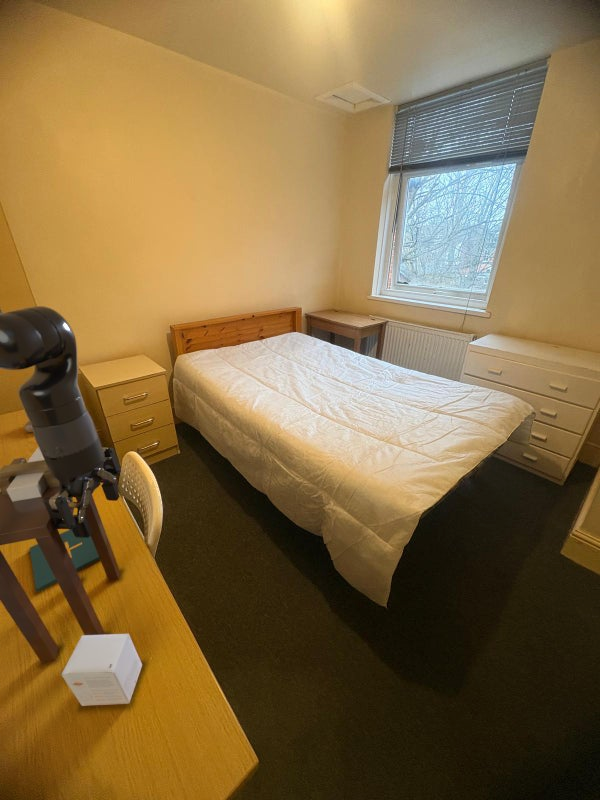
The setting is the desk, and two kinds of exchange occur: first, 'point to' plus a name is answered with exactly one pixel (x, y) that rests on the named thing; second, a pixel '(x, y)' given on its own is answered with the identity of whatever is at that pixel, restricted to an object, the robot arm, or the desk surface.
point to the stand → (32, 521)
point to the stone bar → (28, 482)
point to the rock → (28, 427)
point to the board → (78, 550)
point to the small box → (103, 669)
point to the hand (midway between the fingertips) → (100, 516)
